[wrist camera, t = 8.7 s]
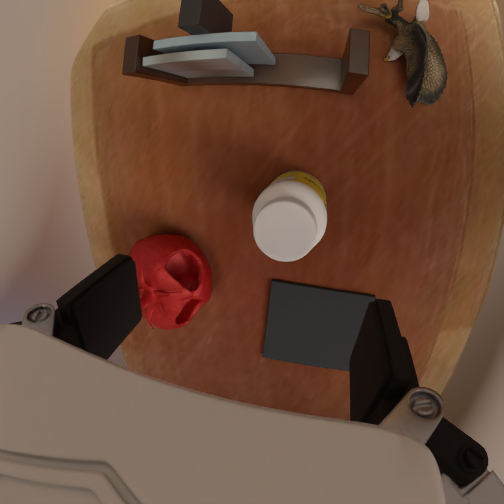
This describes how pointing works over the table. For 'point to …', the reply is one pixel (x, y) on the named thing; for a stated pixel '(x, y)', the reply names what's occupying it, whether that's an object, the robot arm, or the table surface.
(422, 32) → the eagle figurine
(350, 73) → the dark brown u-shaped frame
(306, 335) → the rubber mat
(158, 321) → the pomegranate
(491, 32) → the table surface
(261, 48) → the sliding panel with handle
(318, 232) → the supplement bottle
